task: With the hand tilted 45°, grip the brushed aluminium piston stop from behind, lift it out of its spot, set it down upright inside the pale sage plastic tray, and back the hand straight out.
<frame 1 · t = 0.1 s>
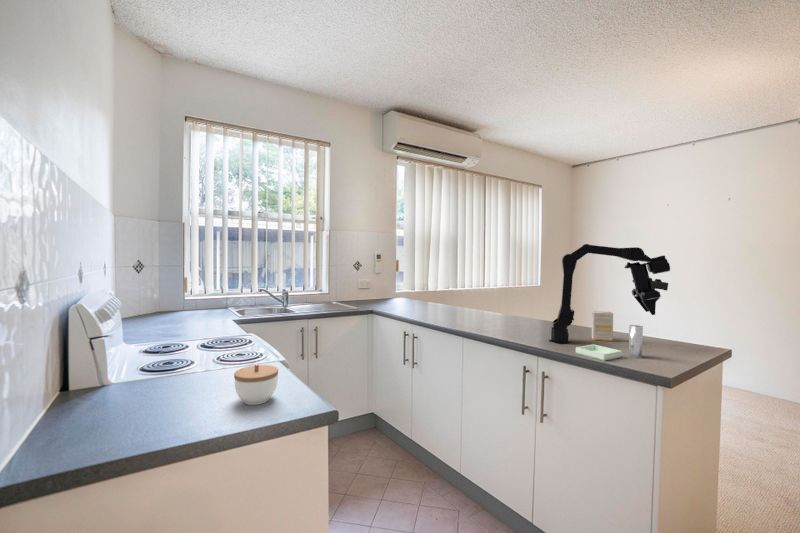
hand: (650, 313, 152), 15 cm above the countertop, tool pointing down, fingers open, 9 cm apart
supplement box: (601, 340, 171), on the countertop
lidded jar: (256, 401, 96), on the countertop
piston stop: (635, 356, 142), on the countertop
tray: (598, 355, 143), on the countertop
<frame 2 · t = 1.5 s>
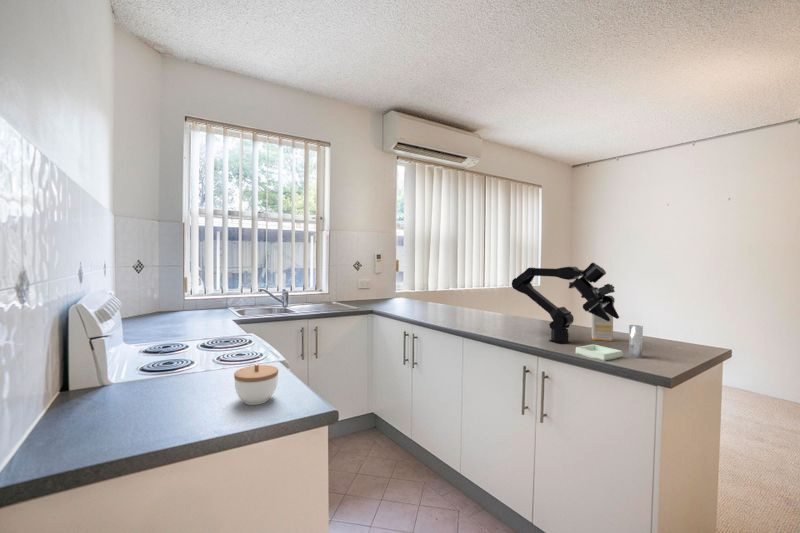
hand: (614, 319, 148), 13 cm above the countertop, tool tilted 45°, fingers open, 9 cm apart
nothing on the countertop moved.
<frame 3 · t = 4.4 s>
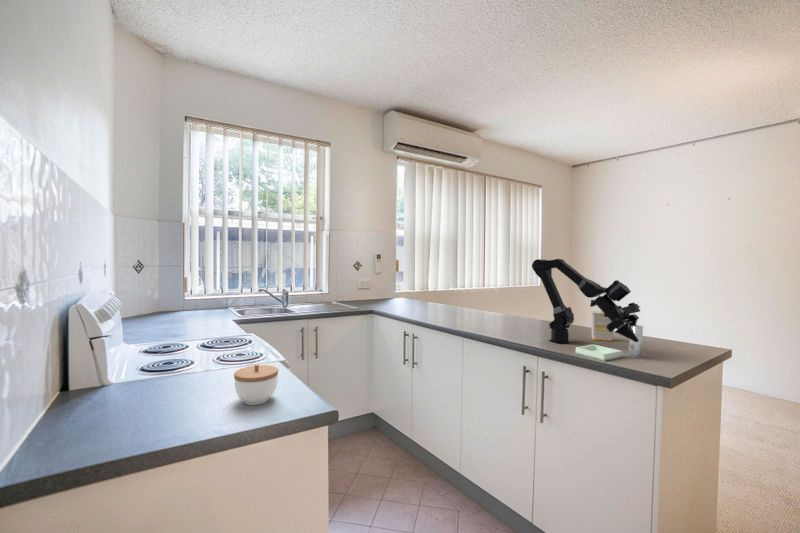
hand: (639, 340, 141), 7 cm above the countertop, tool tilted 45°, fingers closed on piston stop, 4 cm apart
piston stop: (635, 356, 142), on the countertop, touching gripper
everything else where it was.
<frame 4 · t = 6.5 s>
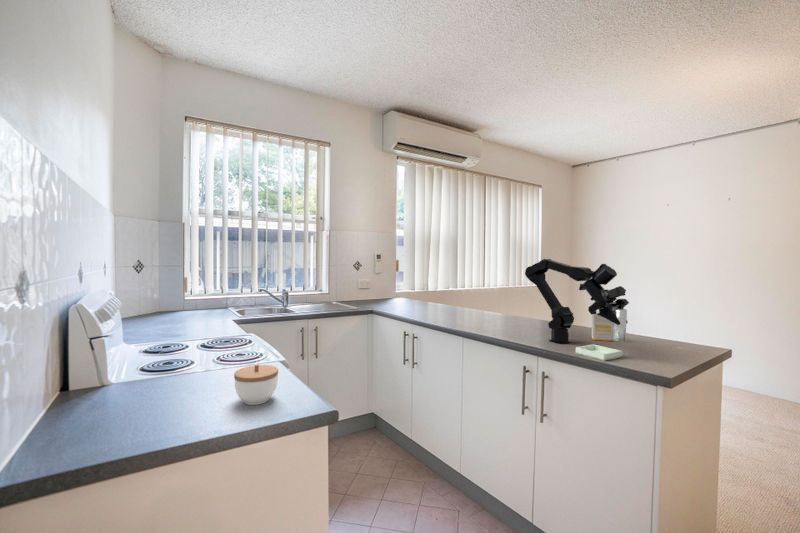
hand: (623, 323, 141), 13 cm above the countertop, tool tilted 45°, fingers closed on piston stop, 4 cm apart
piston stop: (618, 340, 142), point 6 cm above the countertop, touching gripper
everything else where it was.
when the fingers open (9 cm above the countertop, at t = 8.8 s): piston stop drops 1 cm, resting on tray.
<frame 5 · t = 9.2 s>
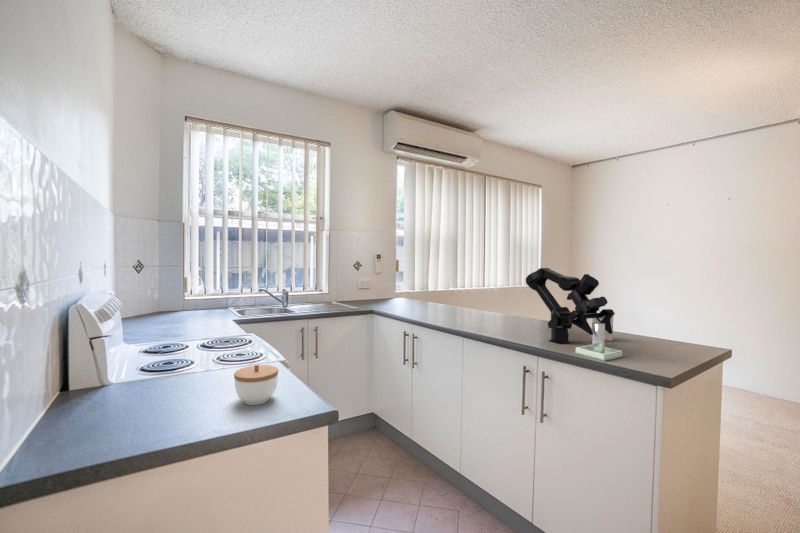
hand: (601, 334, 142), 9 cm above the countertop, tool tilted 45°, fingers open, 9 cm apart
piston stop: (598, 353, 143), point 1 cm above the countertop, touching tray
everything else where it was.
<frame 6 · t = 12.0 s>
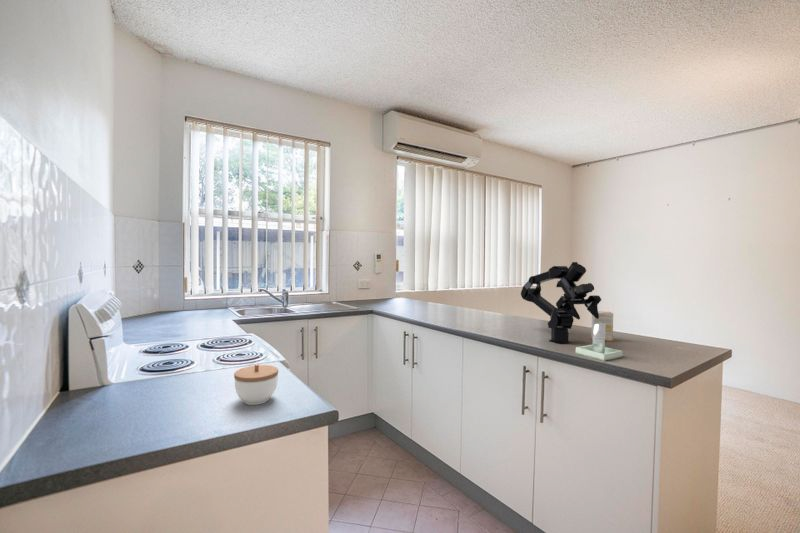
hand: (588, 318, 148), 14 cm above the countertop, tool tilted 45°, fingers open, 9 cm apart
nothing on the countertop moved.
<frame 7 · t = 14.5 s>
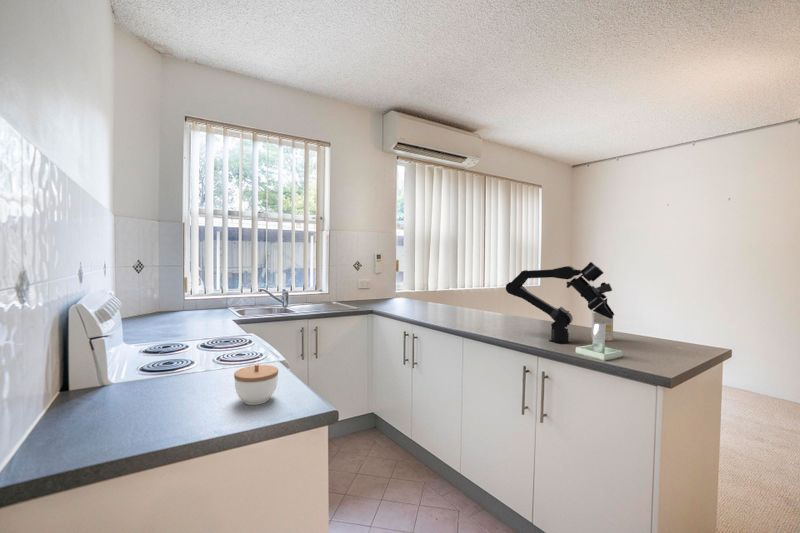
hand: (612, 316, 154), 14 cm above the countertop, tool tilted 45°, fingers open, 9 cm apart
nothing on the countertop moved.
at the end: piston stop inside the target area on the tray (0.1 cm from its centre), point 0.6 cm above the tray's base; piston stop tilted 0°; the gripper is holding nothing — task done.
